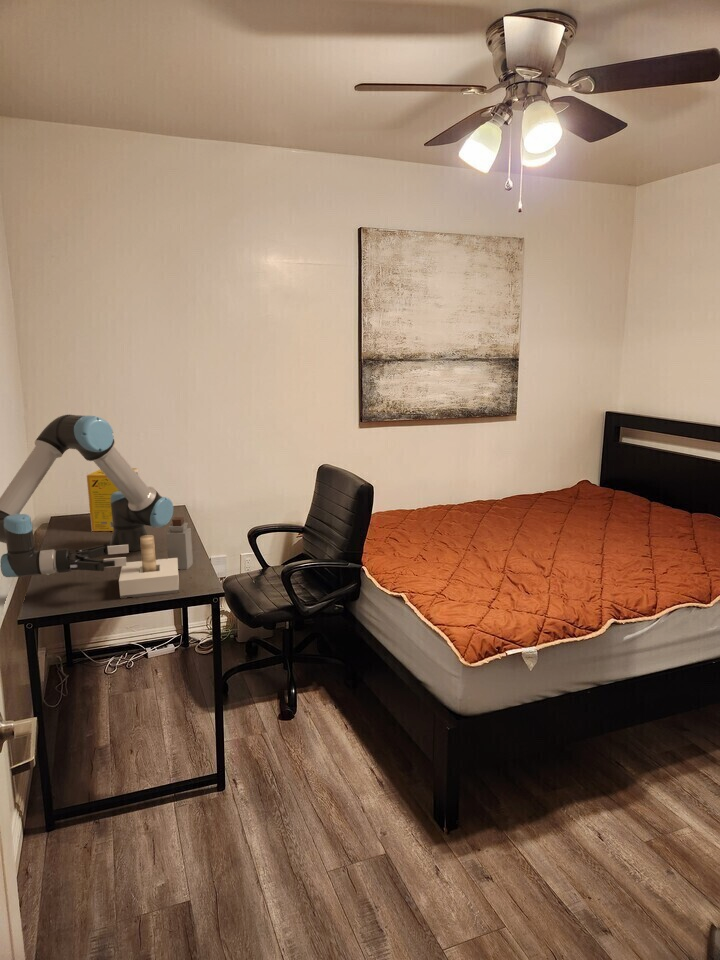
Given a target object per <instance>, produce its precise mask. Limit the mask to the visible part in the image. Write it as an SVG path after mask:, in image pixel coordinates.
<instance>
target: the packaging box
mask: <svg viewBox="0 0 720 960" xmlns="http://www.w3.org/2000/svg"><path fill="white" fill-rule="evenodd" d="M132 469H133V470H134V471H135V472H136V473H137V475H138V476H139V477H140V468H138V467H137V468H133V467H132ZM85 477H86V484H87V485H86V486H87V495H88V505H89V516H90V526H91V532H92V531H113V520H112V510H111V495H112V494H113V493H114V492H117V491H119V490H118V489H117V487H116V486H115V485H114V484H113V483H112V482H111V481H110V479H109V478H108V477H107V476H106V475H105V474H104V473H103V472H102V470H101V469H100V468H99V469H98V470H95V471H93V472H91V473H89V474H87V475H86V476H85Z"/></svg>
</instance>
